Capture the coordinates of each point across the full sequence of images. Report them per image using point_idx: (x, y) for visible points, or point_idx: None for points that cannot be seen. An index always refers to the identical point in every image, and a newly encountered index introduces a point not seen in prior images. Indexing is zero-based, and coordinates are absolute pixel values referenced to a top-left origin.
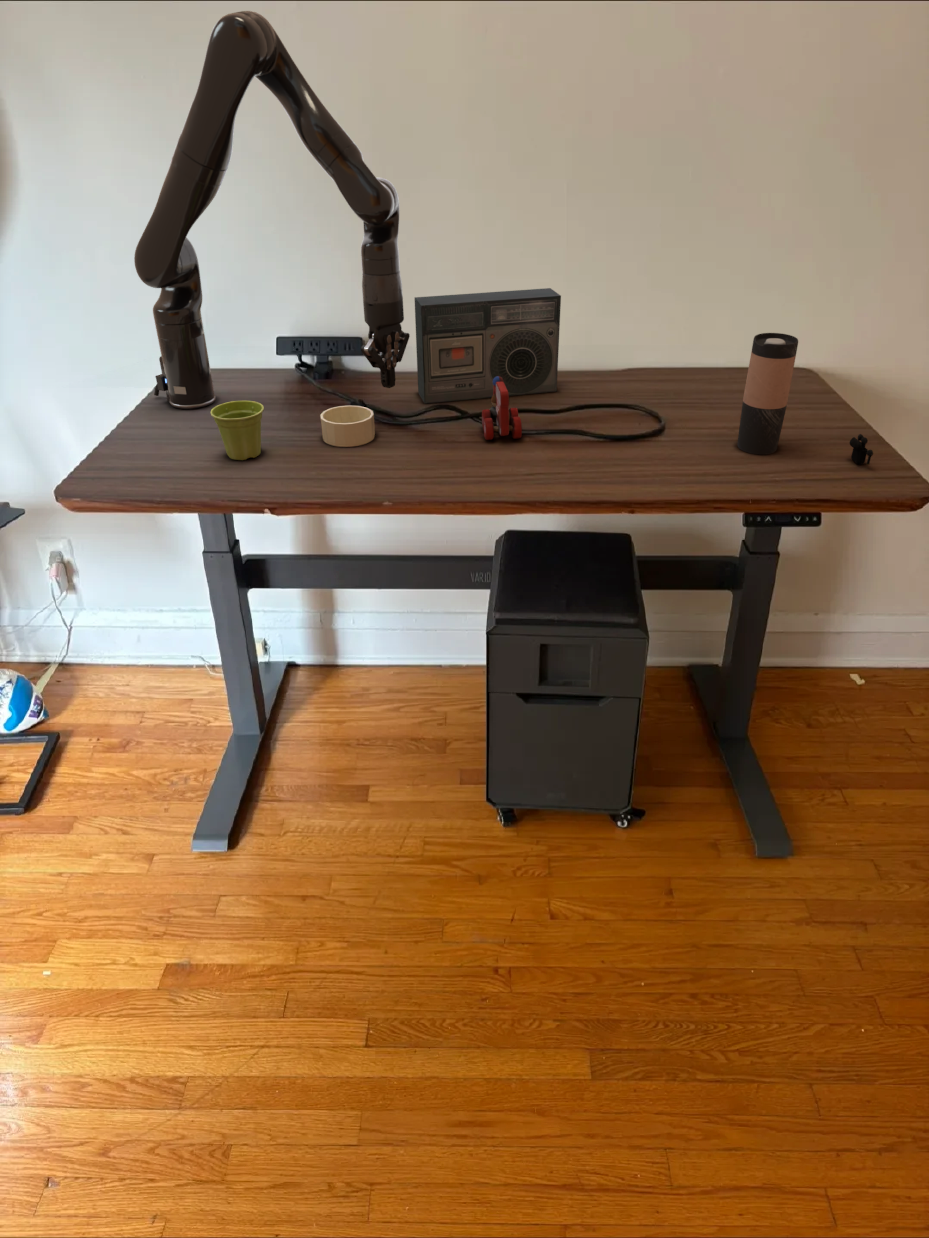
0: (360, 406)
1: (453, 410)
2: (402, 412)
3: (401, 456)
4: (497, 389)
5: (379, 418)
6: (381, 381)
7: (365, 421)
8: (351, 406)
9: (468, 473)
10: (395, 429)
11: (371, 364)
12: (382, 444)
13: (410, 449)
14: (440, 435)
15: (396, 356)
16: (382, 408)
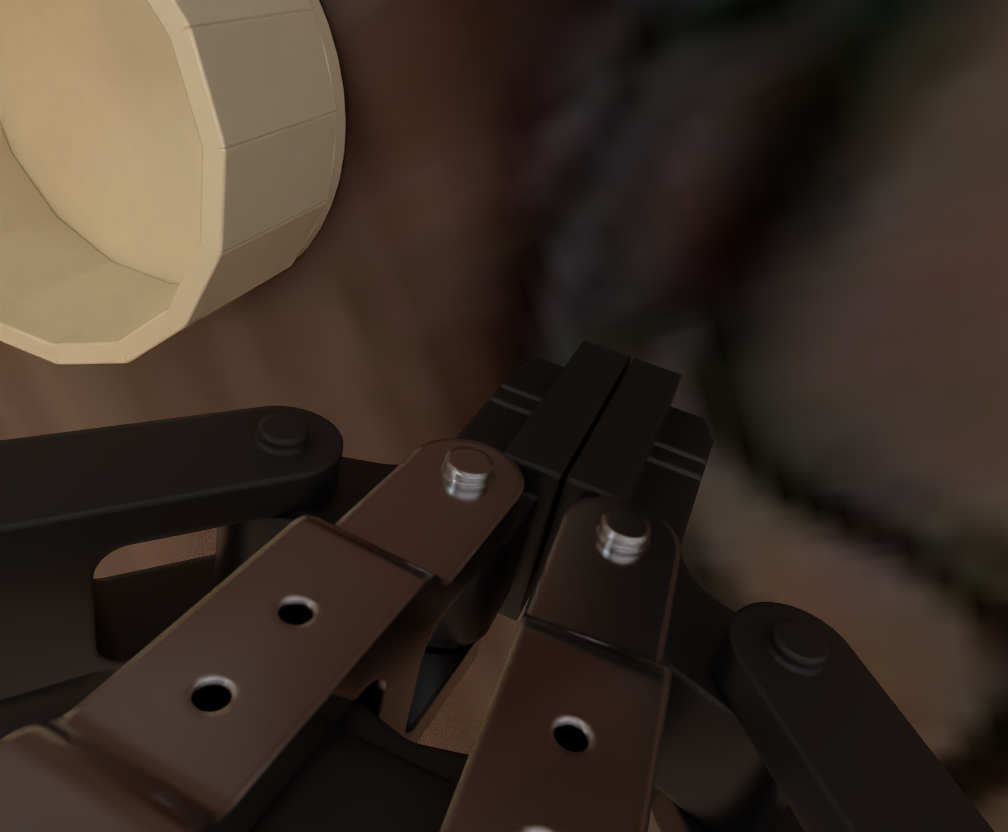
0: (214, 170)
1: (975, 743)
2: (847, 350)
3: None
4: None
5: (627, 181)
6: (507, 381)
7: (1, 337)
8: (178, 64)
9: None
10: (433, 394)
11: (189, 429)
12: (172, 378)
13: (193, 549)
14: None
15: (683, 804)
16: (949, 97)
